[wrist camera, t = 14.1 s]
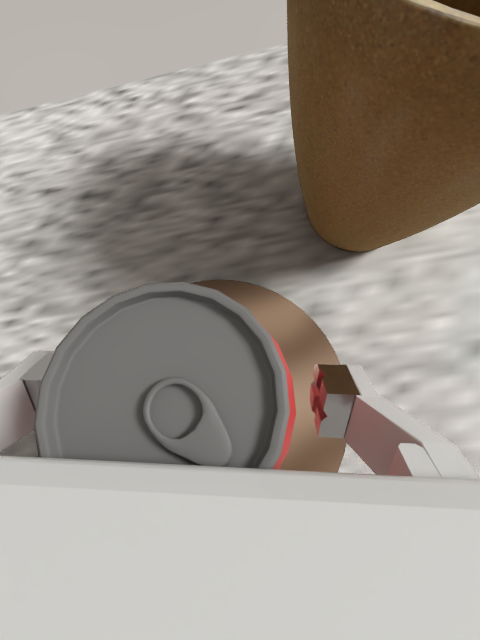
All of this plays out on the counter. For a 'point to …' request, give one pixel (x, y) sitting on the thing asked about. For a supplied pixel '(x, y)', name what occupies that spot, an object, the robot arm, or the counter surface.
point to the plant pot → (384, 115)
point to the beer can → (167, 384)
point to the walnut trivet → (293, 368)
